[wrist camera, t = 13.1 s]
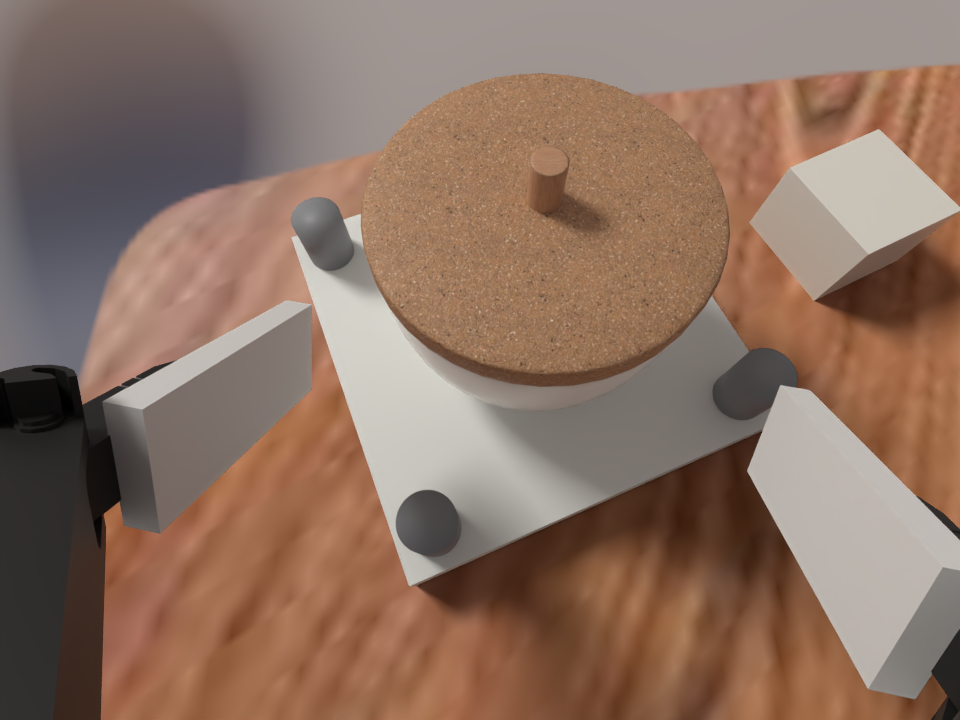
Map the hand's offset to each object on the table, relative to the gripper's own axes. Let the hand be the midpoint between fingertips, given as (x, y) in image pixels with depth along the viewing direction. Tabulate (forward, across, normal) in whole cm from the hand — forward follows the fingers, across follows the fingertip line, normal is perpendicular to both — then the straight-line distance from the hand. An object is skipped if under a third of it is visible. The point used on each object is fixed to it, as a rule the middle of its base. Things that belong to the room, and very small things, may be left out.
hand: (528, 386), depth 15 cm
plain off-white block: (+15, -13, -4) cm, 20 cm away
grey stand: (+9, +1, +2) cm, 10 cm away
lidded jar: (+8, 0, +1) cm, 8 cm away
